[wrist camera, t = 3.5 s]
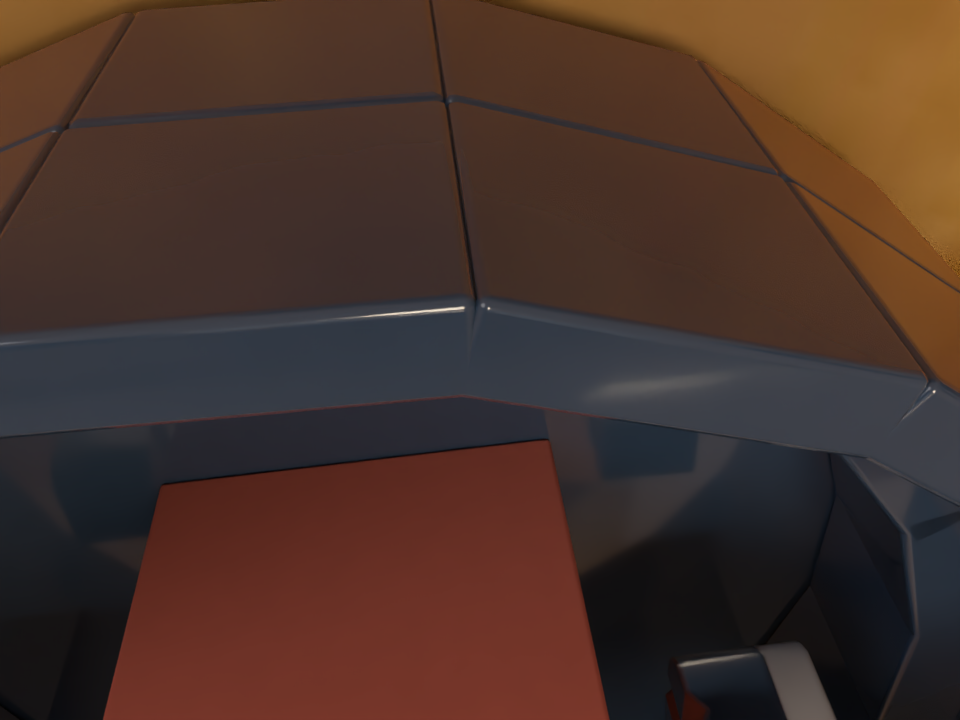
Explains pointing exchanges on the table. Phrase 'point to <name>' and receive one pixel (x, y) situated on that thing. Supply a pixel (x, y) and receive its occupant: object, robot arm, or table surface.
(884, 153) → the table surface
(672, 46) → the table surface
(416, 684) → the toy block
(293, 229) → the toy bowl
